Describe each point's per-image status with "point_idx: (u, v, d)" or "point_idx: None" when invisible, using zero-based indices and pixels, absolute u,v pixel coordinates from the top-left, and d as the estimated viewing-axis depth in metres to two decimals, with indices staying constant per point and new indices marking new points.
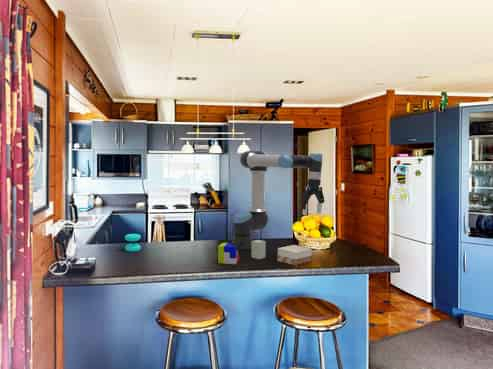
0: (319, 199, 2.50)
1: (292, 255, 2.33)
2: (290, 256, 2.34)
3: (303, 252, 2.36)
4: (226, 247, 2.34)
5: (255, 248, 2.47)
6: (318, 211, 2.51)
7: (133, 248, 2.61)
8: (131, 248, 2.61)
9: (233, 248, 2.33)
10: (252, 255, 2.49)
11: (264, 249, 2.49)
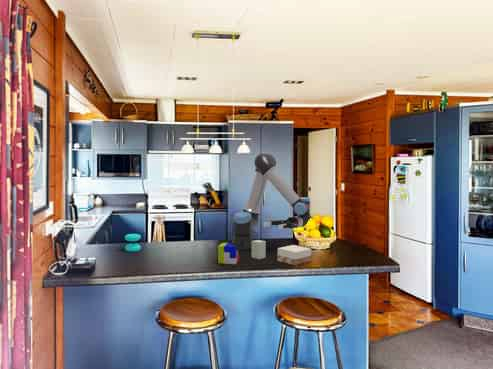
0: (274, 224, 2.66)
1: (292, 255, 2.33)
2: (290, 256, 2.35)
3: (303, 252, 2.36)
4: (226, 247, 2.34)
5: (255, 248, 2.47)
6: (265, 224, 2.61)
7: (133, 248, 2.61)
8: (131, 248, 2.61)
9: (233, 248, 2.33)
10: (252, 255, 2.49)
11: (264, 249, 2.49)
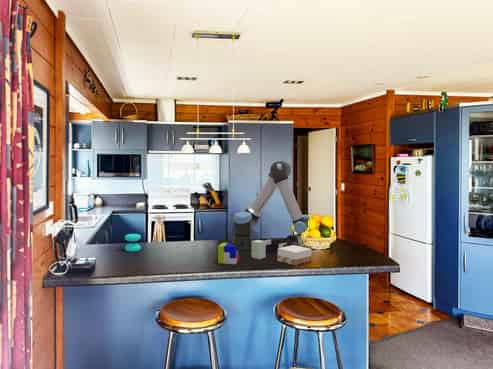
0: (274, 242, 2.67)
1: (292, 255, 2.33)
2: (290, 256, 2.34)
3: (303, 252, 2.36)
4: (226, 247, 2.34)
5: (255, 248, 2.47)
6: None
7: (133, 248, 2.61)
8: (131, 248, 2.61)
9: (233, 248, 2.33)
10: (252, 255, 2.49)
11: (264, 249, 2.49)
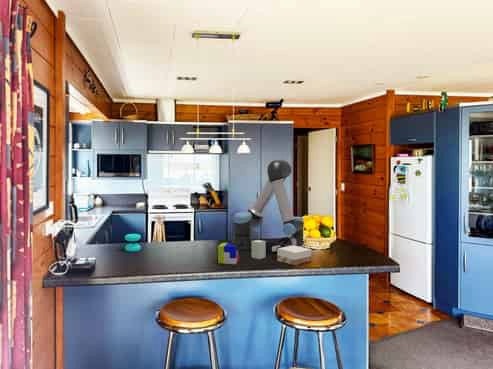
0: (267, 244, 2.61)
1: (292, 255, 2.33)
2: (289, 256, 2.34)
3: (302, 253, 2.35)
4: (226, 247, 2.34)
5: (255, 248, 2.47)
6: None
7: (133, 248, 2.61)
8: (131, 248, 2.61)
9: (233, 248, 2.33)
10: (252, 255, 2.49)
11: (264, 249, 2.49)
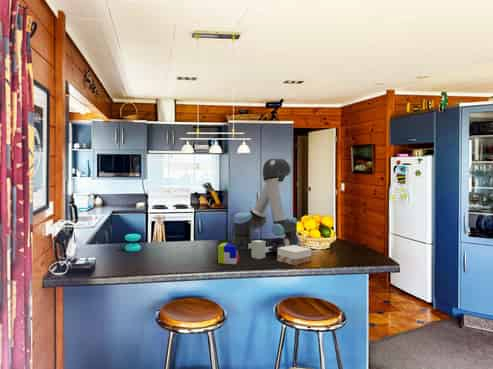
0: None
1: (292, 255, 2.33)
2: (289, 256, 2.35)
3: (302, 252, 2.36)
4: (226, 247, 2.34)
5: (255, 248, 2.47)
6: (250, 246, 2.53)
7: (133, 248, 2.61)
8: (131, 248, 2.61)
9: (233, 248, 2.33)
10: (252, 255, 2.49)
11: None
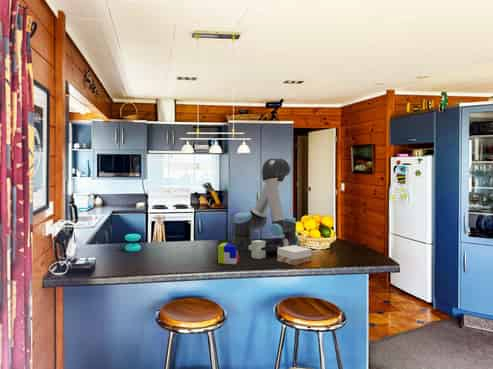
0: None
1: (291, 255, 2.33)
2: (289, 256, 2.35)
3: (302, 252, 2.36)
4: (226, 247, 2.34)
5: (255, 248, 2.47)
6: (251, 247, 2.49)
7: (133, 248, 2.61)
8: (131, 248, 2.61)
9: (233, 248, 2.33)
10: (252, 255, 2.49)
11: None
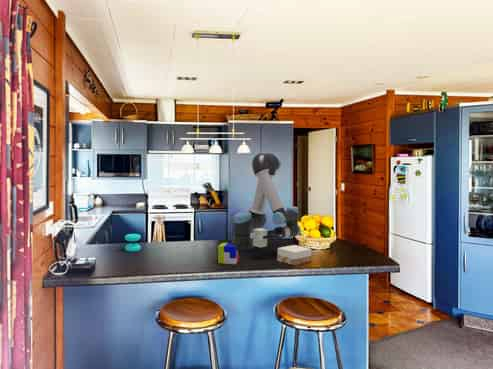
0: None
1: (291, 255, 2.33)
2: (289, 256, 2.35)
3: (302, 252, 2.36)
4: (226, 247, 2.34)
5: (257, 236, 2.46)
6: (252, 235, 2.48)
7: (133, 248, 2.61)
8: (131, 248, 2.61)
9: (233, 248, 2.33)
10: (254, 243, 2.48)
11: None
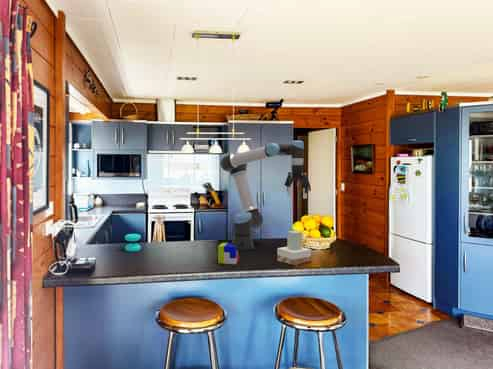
0: (291, 183, 2.71)
1: (291, 255, 2.33)
2: (288, 256, 2.35)
3: (302, 252, 2.35)
4: (226, 247, 2.34)
5: (291, 238, 2.39)
6: (289, 194, 2.72)
7: (133, 248, 2.61)
8: (131, 248, 2.61)
9: (233, 248, 2.33)
10: (288, 246, 2.41)
11: (300, 240, 2.40)
